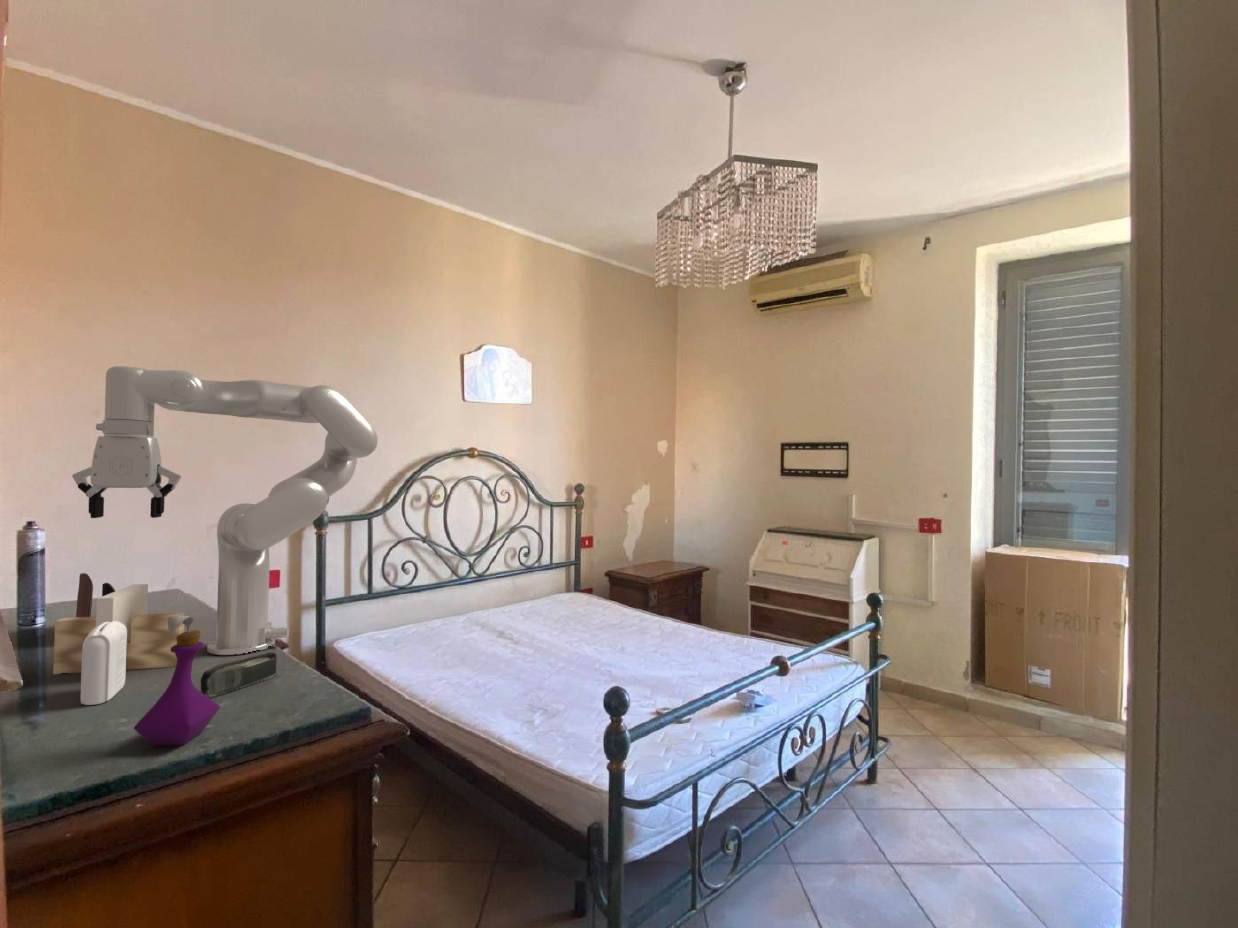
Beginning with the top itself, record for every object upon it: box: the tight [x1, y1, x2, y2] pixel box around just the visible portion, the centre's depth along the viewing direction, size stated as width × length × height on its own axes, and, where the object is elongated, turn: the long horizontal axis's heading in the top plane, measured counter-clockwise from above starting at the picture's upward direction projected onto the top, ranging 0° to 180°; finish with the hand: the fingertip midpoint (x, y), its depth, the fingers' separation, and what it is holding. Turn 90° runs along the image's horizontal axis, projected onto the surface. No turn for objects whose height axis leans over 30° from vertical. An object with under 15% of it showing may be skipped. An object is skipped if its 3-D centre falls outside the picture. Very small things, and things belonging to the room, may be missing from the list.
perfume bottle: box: [133, 615, 221, 747], centre depth 86 cm, size 8×8×18 cm
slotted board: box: [52, 612, 186, 675], centre depth 116 cm, size 20×2×10 cm, turn 107°
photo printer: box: [80, 621, 127, 706], centre depth 102 cm, size 10×4×12 cm, turn 26°
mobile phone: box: [200, 651, 278, 699], centre depth 107 cm, size 5×3×15 cm
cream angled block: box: [95, 583, 149, 643], centre depth 116 cm, size 14×2×15 cm, turn 18°
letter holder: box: [75, 572, 116, 617], centre depth 141 cm, size 10×20×14 cm, turn 47°
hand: (126, 517), depth 116 cm, fingers open, 9 cm apart
